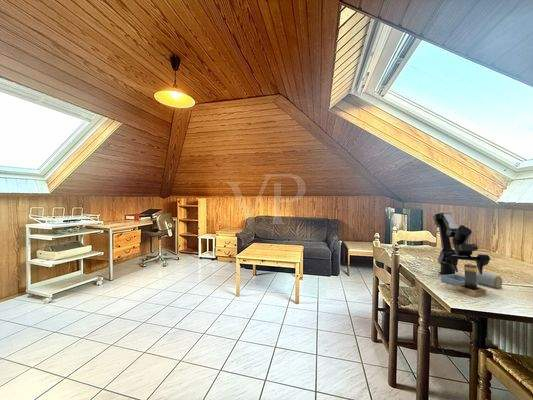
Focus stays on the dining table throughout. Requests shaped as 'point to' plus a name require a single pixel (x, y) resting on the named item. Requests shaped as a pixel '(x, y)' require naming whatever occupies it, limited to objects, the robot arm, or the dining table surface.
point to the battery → (470, 276)
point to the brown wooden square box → (471, 291)
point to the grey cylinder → (489, 279)
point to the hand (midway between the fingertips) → (469, 273)
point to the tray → (453, 279)
